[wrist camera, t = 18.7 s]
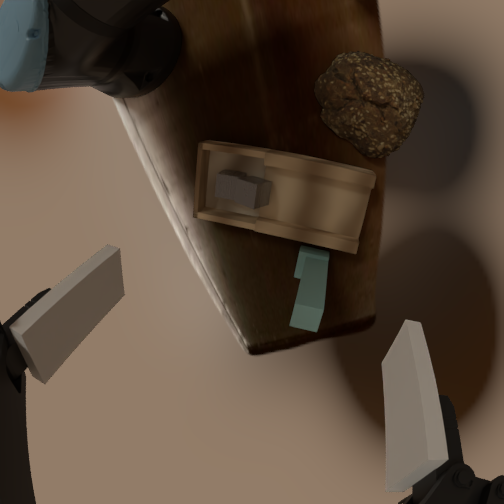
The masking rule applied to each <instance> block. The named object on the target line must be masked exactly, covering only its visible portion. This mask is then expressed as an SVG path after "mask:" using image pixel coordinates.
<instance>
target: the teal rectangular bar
mask: <svg viewBox="0 0 504 504" xmlns="http://www.w3.org/2000/svg"><path fill="white" fill-rule="evenodd" d="M329 253H330V252H329V251H325V250H320V249H316V248H312V247H307V246H303V245H301V247H300V251H299V256H298V260H297V265H296V269H295V274H294V277H295V278H299V279H301V280H300V285H299V289H298V293H297V297H296V301H295V305H294V309H293V313H292V317H291V321H290V325H289V326H292V327H297V328H301V329H305V330H309V331H314V332H317V330H318V327H319V324H320V320H321V317H322V314H323V311H324V304H325V293H326V283H327V271H328V261H329Z"/></svg>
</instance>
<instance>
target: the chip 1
mask: <svg viewBox="0 0 504 504" xmlns="http://www.w3.org/2000/svg"><path fill="white" fill-rule="evenodd" d="M246 175H247V173H245V172H239V171H233V170H227V169H224V170H222V171H221V172H219V173H217V176H216V188H215V197H219V198H225V199H230V200H235V192H236V183H237V178H242V177H246Z"/></svg>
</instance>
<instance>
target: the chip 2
mask: <svg viewBox="0 0 504 504" xmlns="http://www.w3.org/2000/svg"><path fill="white" fill-rule="evenodd" d="M271 186H272V181H269V180H266V179H262V178H259V177H256V176H248V177H242V178H237V183H236V192H235V203H238V204H241V205H244V206H246V207H249V208H252V209H257V208H260V207H263V206H266V205H269V199H270V193H271Z"/></svg>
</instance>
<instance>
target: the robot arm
mask: <svg viewBox="0 0 504 504" xmlns="http://www.w3.org/2000/svg"><path fill="white" fill-rule="evenodd" d="M168 1H169V0H5V1H4V2H3V4H2V6H1V8H0V87H1V88H2V89H4V90H7V91H12V92H13V91H27V92H34V91H36V90H45V89H55V88H67V87H84V86H91V87H93V88H95V89H97V90H99V91H101V92H103V93H105V94H107V95H109V96H112V97H117V98H133V97H139V96H142V95H145V94H147V93H149V92H151V91H153V90H154V89H155V88H157V87H158V86H159V85H160V84H161V83H162V82H163V81H164V80H165V79H166V78H167V77H168V76H169V74H170V73H171V71H172V70H173V68H174V66H175V64H176V62H177V59H178V56H179V53H180V48H181V31H180V27H179V24H178V22H177V20H176V18H175V16H174V15H173V14H172V13H171V12H170V11H169V10H167V9H166V8H164V7H162V5H164V4H165V3H166V2H168ZM124 295H125V294H124V286H123V276H122V266H121V255H120V248H118V247H114V246H111V245H106V246H105V247H104V248H102V249H101V250H100V251H98V252H97V253H96V254H95V255H93V256H92V257H91V258H90V259H88V260H87V261H86V262H85V263H83V264H82V265H81V266H79V267H78V268H77V269H76V270H75V271H73V272H72V273H71V274H70V275H68V276H67V277H66V278H65V279H63V280H62V281H61V282H60V283H58V285H56V286H55V287H54V288H53V289H50V288H48V289H46V290H44V291H42V292H40V293H38V294H37V295H36V296H35V297H33V298H32V299H31V301H29V302H28V303H26V304H25V306H23V307H22V308H21V309H20V310H18V312H16V313H15V314H14V315H13V316H12V317H11V318H10V319H9V320H7V321H6V322H5V323H4V324H3V325H2V324H1V322H0V504H36V501H35V496H34V490H33V484H32V478H31V471H30V463H29V453H28V442H27V428H26V376H25V372H24V371H25V369H26V368H27V367H28V368H29V370H30V372H31V374H32V376H33V377H35V378H36V379H38V380H39V381H41V382H42V383H44V384H46V382H47V381H48V380H49V379H50V378H51V377H52V375H53V374H54V373H55V372H56V371H57V370H58V368H59V367H60V366H61V365H62V364H63V362H64V361H65V360H66V359H67V358H68V357H69V356H70V354H71V353H72V352H73V351H74V350H75V349H76V348H77V346H78V345H79V344H80V343H81V342H82V341H83V340H84V339H85V337H86V336H87V335H88V334H89V333H90V332H91V331H92V330H93V329H94V328H95V326H96V325H97V324H98V323H99V322H100V321H101V320H102V319H103V318H104V316H105V315H106V314H107V313H108V312H109V311H110V310H111V309H112V308H113V307H114V306H115V305H116V304H117V303H118V302H119V300H120V299H121V298H122V297H123V296H124ZM382 372H383V386H384V402H385V425H386V486H385V491H386V492H404V491H405V490H407V489H409V488H410V487H413V494H411V495H409V496H408V497H406V498H404V499H403V500H401V501H400V502H399V503H398V504H402V503H403V504H504V476H503V475H501V476H498V477H497V478H495V479H494V480H492V481H488V480H485V479H481V478H478V477H475V474H474V471H473V470H472V469H471V468H470V466H468V465H466V464H464V461H463V455H462V448H461V442H460V436H459V430H458V429H457V427H458V425H457V420H456V414H455V410H454V406H453V404H452V402H451V401H450V399H449V398H448V396H444V395H438V391H437V386H436V381H435V377H434V372H433V368H432V364H431V360H430V356H429V352H428V348H427V344H426V340H425V336H424V333H423V329H422V326H421V323H420V322H415V321H410V320H405V322H404V324H403V326H402V328H401V329H400V331H399V333H398V335H397V337H396V339H395V341H394V342H393V344H392V346H391V348H390V349H389V351H388V353H387V355H386V357H385V358H384V360H383V362H382Z"/></svg>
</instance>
